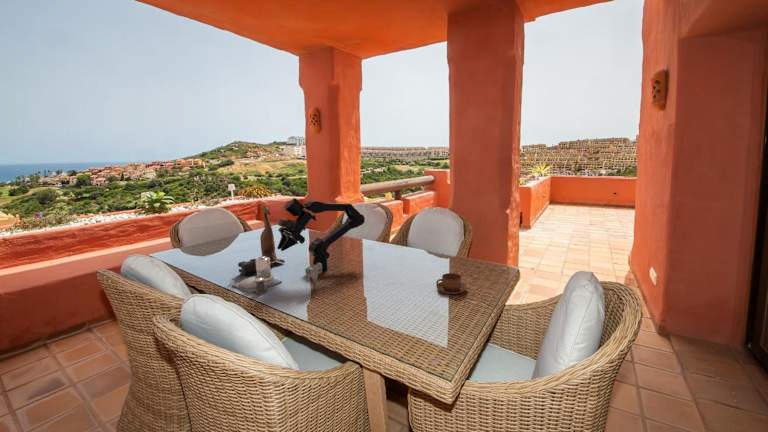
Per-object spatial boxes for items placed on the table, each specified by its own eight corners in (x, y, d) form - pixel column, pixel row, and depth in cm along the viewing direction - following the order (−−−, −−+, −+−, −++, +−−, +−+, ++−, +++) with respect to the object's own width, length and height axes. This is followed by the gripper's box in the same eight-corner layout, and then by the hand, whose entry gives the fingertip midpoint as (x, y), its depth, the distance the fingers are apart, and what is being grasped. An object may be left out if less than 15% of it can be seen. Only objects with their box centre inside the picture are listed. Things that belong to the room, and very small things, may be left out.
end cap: (245, 278, 161) (244, 264, 160) (238, 275, 165) (236, 261, 164) (265, 272, 168) (263, 259, 167) (257, 270, 173) (256, 256, 172)
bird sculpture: (268, 269, 173) (263, 206, 168) (253, 266, 179) (247, 205, 174) (285, 263, 182) (280, 203, 177) (270, 260, 188) (265, 202, 183)
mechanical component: (324, 284, 149) (323, 262, 148) (311, 293, 140) (310, 269, 138) (318, 284, 150) (316, 261, 149) (305, 292, 141) (304, 269, 139)
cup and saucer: (448, 299, 131) (448, 283, 130) (430, 289, 142) (430, 274, 141) (473, 292, 136) (473, 277, 135) (453, 283, 147) (453, 269, 146)
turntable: (262, 276, 162) (262, 273, 162) (281, 282, 153) (281, 279, 153) (231, 286, 151) (231, 282, 151) (250, 293, 142) (250, 289, 141)
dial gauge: (267, 292, 142) (266, 279, 141) (257, 294, 140) (256, 281, 139) (264, 289, 145) (262, 276, 144) (254, 292, 143) (253, 278, 142)
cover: (275, 276, 158) (274, 254, 156) (270, 282, 150) (268, 259, 148) (258, 276, 158) (256, 254, 156) (252, 282, 150) (250, 259, 148)
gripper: (280, 210, 165) (259, 236, 160) (296, 214, 150) (273, 243, 145) (297, 224, 171) (277, 249, 166) (314, 229, 156) (292, 257, 151)
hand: (279, 249), depth 157 cm, fingers open, 4 cm apart
